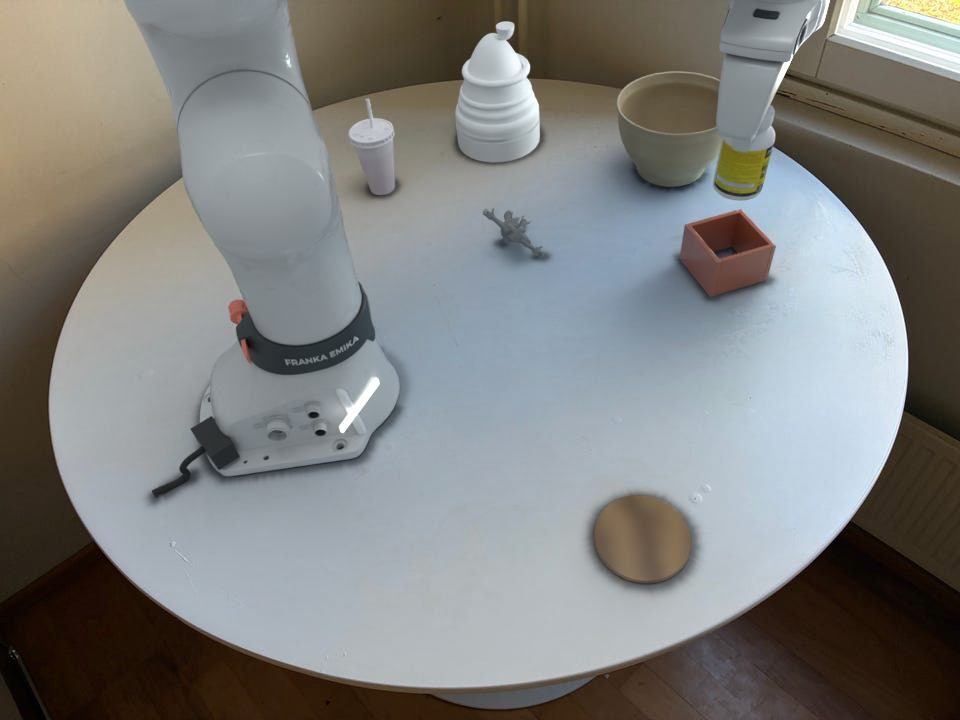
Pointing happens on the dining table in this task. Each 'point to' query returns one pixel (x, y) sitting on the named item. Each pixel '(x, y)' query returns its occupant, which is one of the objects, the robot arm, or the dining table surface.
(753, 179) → the supplement bottle
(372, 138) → the smoothie
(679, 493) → the dining table surface
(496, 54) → the honey pot
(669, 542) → the coaster
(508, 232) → the grey creature figurine
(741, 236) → the box
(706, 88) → the planter bowl
